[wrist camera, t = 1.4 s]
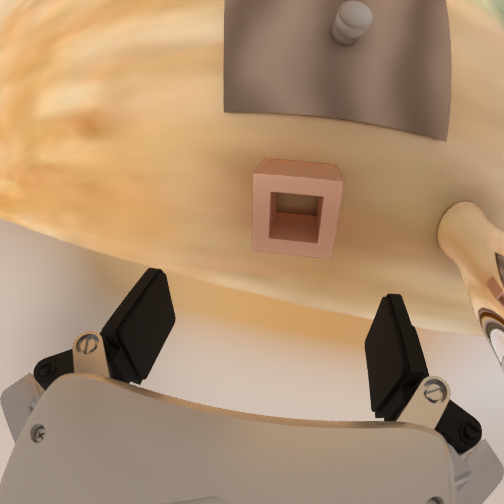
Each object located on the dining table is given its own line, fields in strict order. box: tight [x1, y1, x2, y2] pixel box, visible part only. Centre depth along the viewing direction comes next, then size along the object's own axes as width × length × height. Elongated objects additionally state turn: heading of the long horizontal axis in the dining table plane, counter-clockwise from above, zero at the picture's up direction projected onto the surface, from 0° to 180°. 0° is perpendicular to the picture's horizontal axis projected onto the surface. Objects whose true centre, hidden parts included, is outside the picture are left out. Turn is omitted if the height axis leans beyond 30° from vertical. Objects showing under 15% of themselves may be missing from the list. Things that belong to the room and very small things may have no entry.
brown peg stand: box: [224, 0, 451, 142], centre depth 12 cm, size 18×14×8 cm
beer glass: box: [437, 201, 504, 372], centre depth 14 cm, size 7×7×15 cm
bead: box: [252, 159, 343, 259], centre depth 21 cm, size 6×6×5 cm
